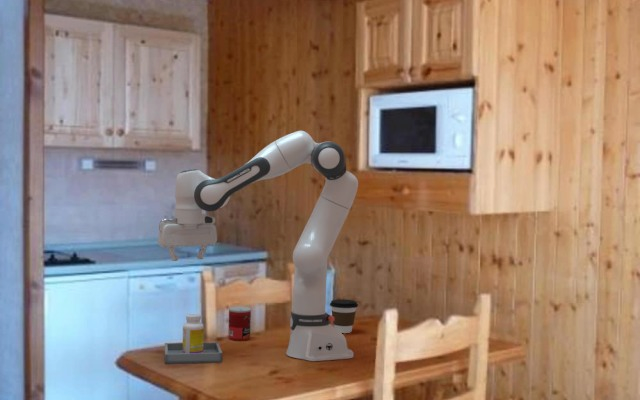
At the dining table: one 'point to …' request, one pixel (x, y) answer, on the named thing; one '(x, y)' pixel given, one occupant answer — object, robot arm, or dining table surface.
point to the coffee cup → (343, 314)
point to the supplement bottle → (193, 334)
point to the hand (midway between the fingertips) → (187, 259)
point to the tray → (192, 354)
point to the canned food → (239, 323)
